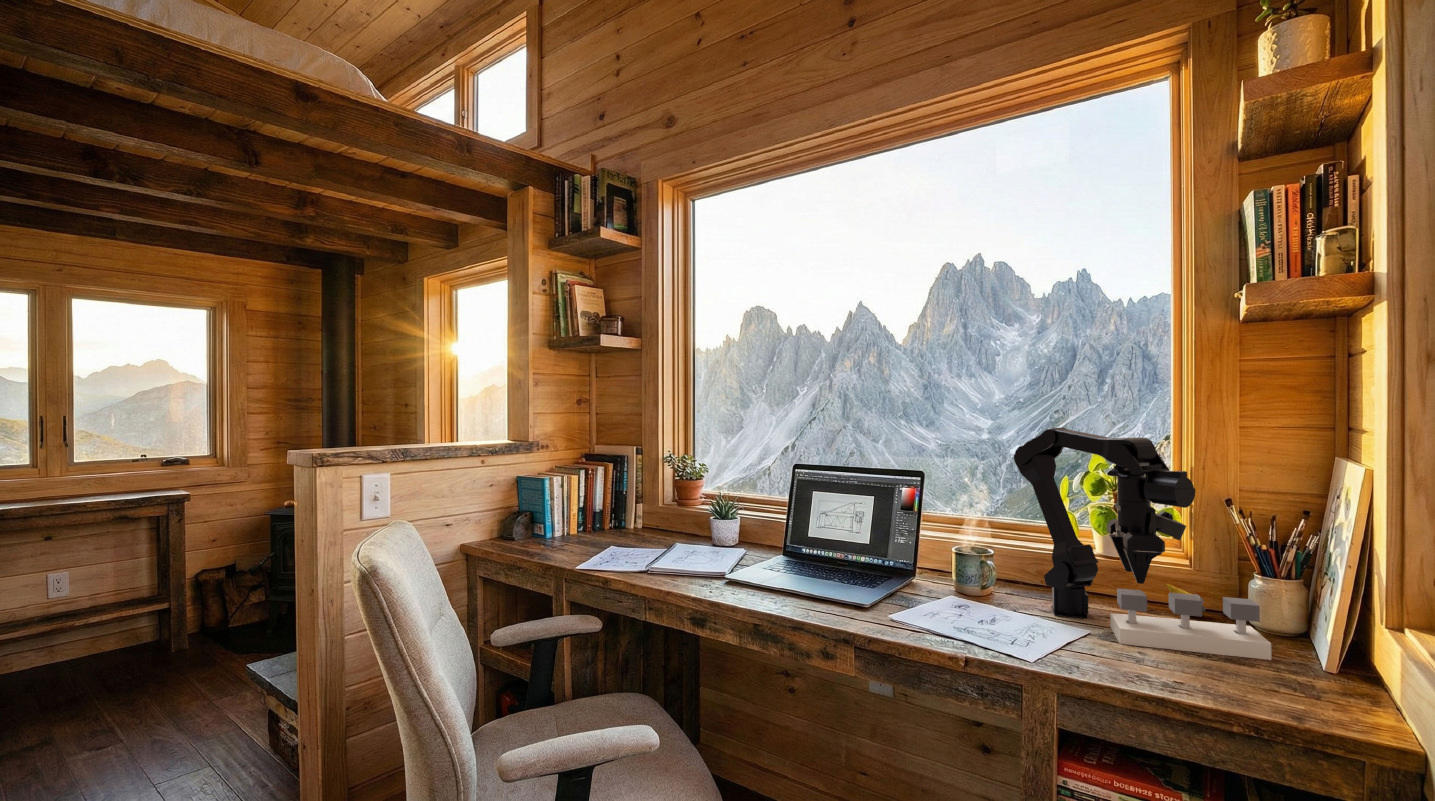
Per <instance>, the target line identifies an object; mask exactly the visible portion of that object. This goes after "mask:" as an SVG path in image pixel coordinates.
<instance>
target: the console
mask: <svg viewBox="0 0 1435 801" xmlns="http://www.w3.org/2000/svg"><path fill="white" fill-rule="evenodd" d="M1109 614H1110V617H1109V618H1110V629H1111V630H1112V632H1113V634H1114V635H1115V637H1116V639H1117V641H1118V643H1119V644H1120V645H1128V646H1129V645H1130V646H1136V647H1137V646H1138V647H1148V648H1156V649H1158V648H1159V649H1166V650H1176V651H1184V652H1193V653H1201V654H1211V655H1220V656H1221V655H1222V656H1231V657H1239V658H1240V657H1241V658H1247V659H1248V658H1249V659H1259V660H1269V661H1272V643H1271V642H1270V641H1269V640H1268V639H1266V638H1265V637H1264V636H1263V635H1262V634H1261V633H1259V632H1258V631H1257V630H1256V629H1254V628H1253V627H1252V626H1251V625H1246V634H1241V633H1238V632H1236V624H1233V623H1232V624H1231V623H1224V622H1223V623H1221V622H1211V621H1200V620H1199V621H1198V620H1190V629H1189V628H1182V627H1181V618H1179V619H1178V618H1170V617H1169V618H1168V617H1157V616H1147V615H1137V614H1136V623H1129V622H1128V613H1127V614H1125V613H1113V612H1110V613H1109Z"/></svg>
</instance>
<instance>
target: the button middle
mask: <svg viewBox="0 0 1435 801" xmlns="http://www.w3.org/2000/svg"><path fill="white" fill-rule="evenodd" d="M1168 608H1169V609H1170V611H1171V612H1172V613H1173V614H1174V615H1179V616H1180V619H1181V627H1182V628H1189V629H1190V618H1191V617H1201V618H1202V615H1203V612H1202V601H1201V600H1200V599H1199V598H1198V597H1197V596H1196V595H1192V593H1191V594H1180V593H1171V592H1168ZM1190 616H1191V617H1190Z"/></svg>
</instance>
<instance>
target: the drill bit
mask: <svg viewBox="0 0 1435 801" xmlns="http://www.w3.org/2000/svg"><path fill="white" fill-rule="evenodd" d="M1165 585H1166V587H1167V589H1168V591H1169V593H1180V594H1192V593H1190V592H1188V591H1185V590H1184V589H1181V588H1178V587H1176V586H1174V585H1171V584H1169V583H1165ZM1192 595H1196V596H1197V597H1198V598H1199V599H1200V600H1201V601H1202V613H1204V612H1205V611H1206V610H1207V608H1206V607H1205V606H1204V603H1205V602H1204V599H1203V597H1201V596H1200V595H1199V594H1196V593H1193V594H1192ZM1202 616H1204V615H1203V614H1202Z"/></svg>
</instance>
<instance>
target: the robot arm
mask: <svg viewBox="0 0 1435 801" xmlns="http://www.w3.org/2000/svg"><path fill="white" fill-rule="evenodd" d="M1064 448H1065V449H1070V450H1074V451H1080V452H1083V453H1088V454H1092V455H1097V456H1099V457H1102V458H1103V459H1105V460H1106V461H1107V462H1109V463H1112V464H1114V467H1112V468H1111V469H1109V471H1107V472H1106V475H1107V476H1111V477H1117V479H1116V480H1117V481H1116V483H1117V487H1116V489H1117V491H1116V492H1117V494H1116V496H1117V498H1116V499H1117V501H1116V502H1115V503H1114V508H1115V509H1116V510H1117V512H1116V513H1117V518H1116V519H1115V518H1112V519H1110V520H1109V521H1107V523H1106V526H1107V527H1106V529H1107V530H1106V531H1107V533H1108V536H1109V538H1110V539H1111V542H1112V544H1113V546H1114V549H1115V551H1116V553H1117V555H1118V558H1119V559H1120V562H1121V563H1122V565H1123V568H1124V570H1125V572H1127V573H1132V574H1133V576H1134V578H1135V582H1136V583H1137V584H1139V585H1141V584H1142V585H1143V584H1145V581H1146V578H1147V575H1148V572H1149V569H1150V566H1151V563H1152V561H1153V559H1155V558H1157V557H1158V556H1161V555H1162V554H1163V553H1165V552H1166V542H1165V541H1164V540H1163V539H1162V537H1160V536H1159V535H1157V532H1158V533H1160V534H1164V535H1166V536H1169V537H1172V539H1175V540H1177V541H1181V539H1182V537H1183V536H1184V532H1185V530H1186V528H1187V525H1185V524H1184V523H1182V522H1181V521H1178V520H1175V519H1174V517H1173V514H1172V513H1170V512H1167V511H1165V510H1161V511H1160V512H1158V513H1156V511H1157V510H1156V508H1154V507H1153V506H1152V505H1151V504H1157V505H1164V506H1171V507H1177V508H1184V509H1185V508H1188V507H1190V506H1191V505H1192V504H1193V502H1194V500H1195V498H1196V488H1195V486H1194V483H1193V482H1192V480H1191V479H1190V478H1188V471H1187V470H1170V468H1169V467H1168V466H1167V464H1166V463H1165V461H1164V460H1163V459H1162V457H1161V456H1160V454H1159V453H1158V452H1157V450H1156V446H1155V445H1154V443H1153V441H1152V440H1151V439H1149V438H1147V437H1108V436H1104V435H1099V434H1094V433H1087V432H1082V431H1079V430H1077V431H1076V430H1073V429H1067V427H1049V428H1046V429H1045V430H1044V431H1043V432H1042V433H1041V434H1039V435H1037V436H1035V437H1034V438H1032V439H1031V440H1029V441H1027V442H1025V443H1024V444H1023V445H1020V446H1018V447H1017V448H1016V450H1015V453H1014V454H1013V459H1014V463H1015V465H1016V467H1017V470H1018V471H1019V474H1021V476H1022V477H1024V479H1025V480H1027V481H1028V482H1029V483H1030V484H1031V487H1032V488H1033V491H1034V494H1035V496H1036V500H1037V501H1038V504H1039V508H1040V511H1041V512H1042V513H1041V514H1042V515H1043V518H1044V521H1045V524H1046V526H1047V530H1048V531H1049V534H1050V537H1051V541H1052V542H1053V549H1052V554H1051V561H1052V566H1053V567H1052V568H1051V569H1050V570H1048V571H1047V572H1046V573H1044V575H1043V579H1044V582H1045V586H1047V587H1050V588H1051V590H1052V596H1051V597H1052V604H1051V605H1050V606H1051V607H1050V608H1051V610H1052V613H1053V615H1054V616H1056V617H1063V618H1064V617H1065V618H1075V619H1076V618H1077V619H1088V616H1087V615H1089V595H1088V593H1087V592H1086V587H1092V585H1093V581H1094V578H1096V577H1097V574H1098V572H1099V567H1098V563H1099V560H1098V559H1097V558H1096V556H1095V552H1094V549H1093V546H1092V545H1091V544H1084V543H1083V542H1081V541H1080V540H1079V538H1078V537H1077V535H1076V531H1075V529H1074V526H1073V524H1072V520H1071V519H1070V517H1069V514H1068V511H1067V508H1066V506H1065V504H1064V500H1063V499H1062V496H1061V493H1060V490H1059V488H1058V485H1057V483H1056V479H1055V474H1056V470H1057V463H1056V459H1057V458H1058V457H1059V456H1060V455H1061V454H1062V453H1063V450H1064Z"/></svg>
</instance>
